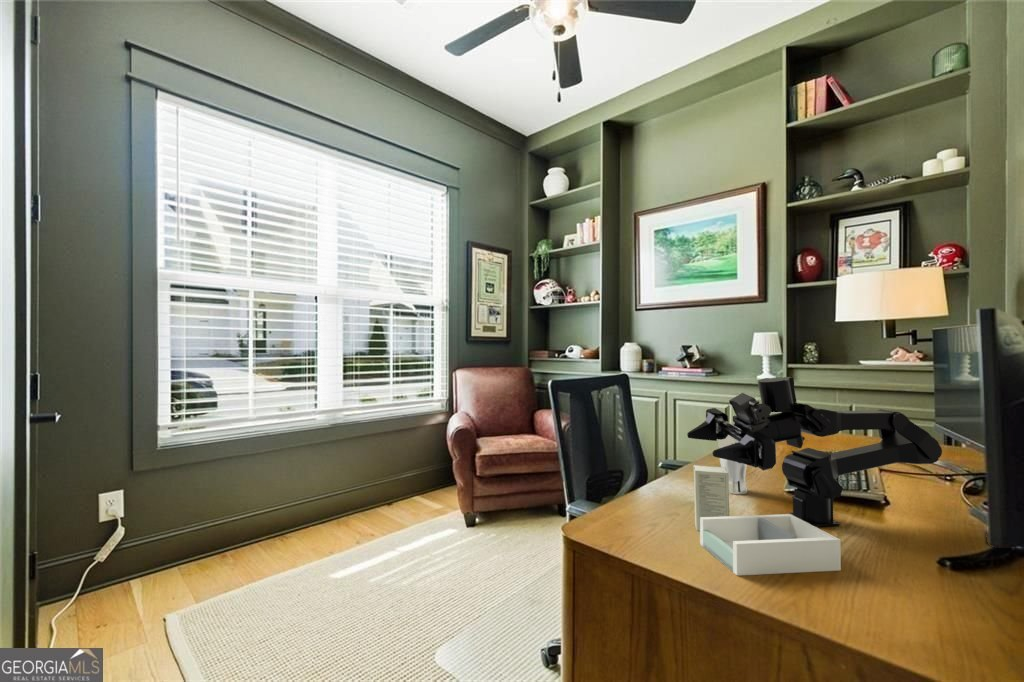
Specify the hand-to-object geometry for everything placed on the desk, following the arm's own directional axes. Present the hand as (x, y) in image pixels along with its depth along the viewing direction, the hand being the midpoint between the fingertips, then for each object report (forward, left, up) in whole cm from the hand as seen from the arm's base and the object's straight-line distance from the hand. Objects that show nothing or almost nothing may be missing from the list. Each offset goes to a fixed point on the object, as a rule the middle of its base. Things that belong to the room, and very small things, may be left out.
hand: (699, 444), depth 88 cm
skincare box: (-1, +2, -17) cm, 17 cm away
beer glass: (-20, -20, -17) cm, 33 cm away
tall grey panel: (-6, +14, -16) cm, 22 cm away
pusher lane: (-4, +14, -17) cm, 22 cm away
